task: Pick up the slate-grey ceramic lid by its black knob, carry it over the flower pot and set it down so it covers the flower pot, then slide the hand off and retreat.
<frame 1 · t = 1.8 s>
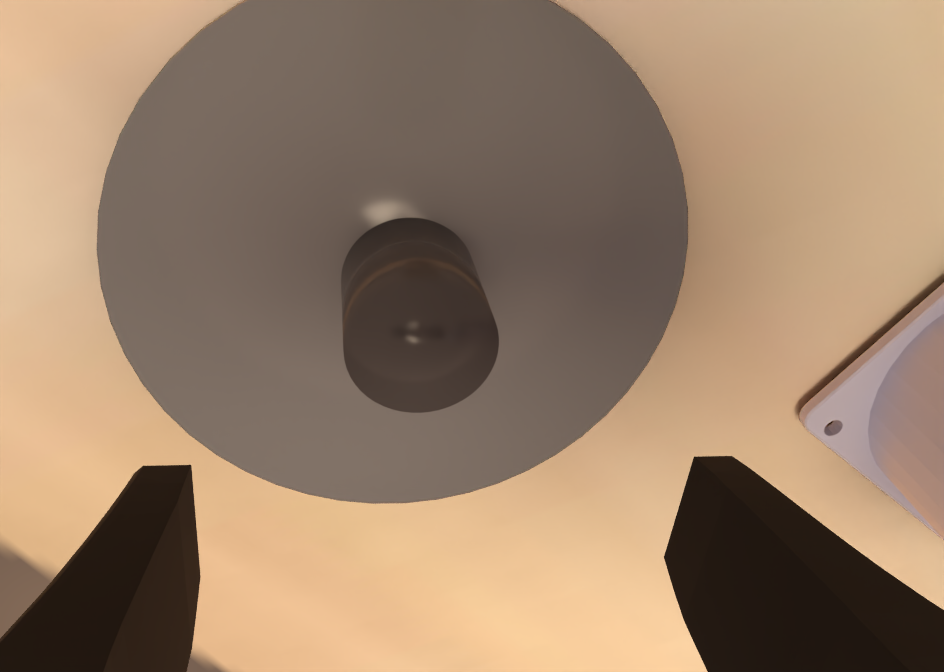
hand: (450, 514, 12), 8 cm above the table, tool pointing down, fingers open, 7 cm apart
lid: (405, 265, 19), on the table
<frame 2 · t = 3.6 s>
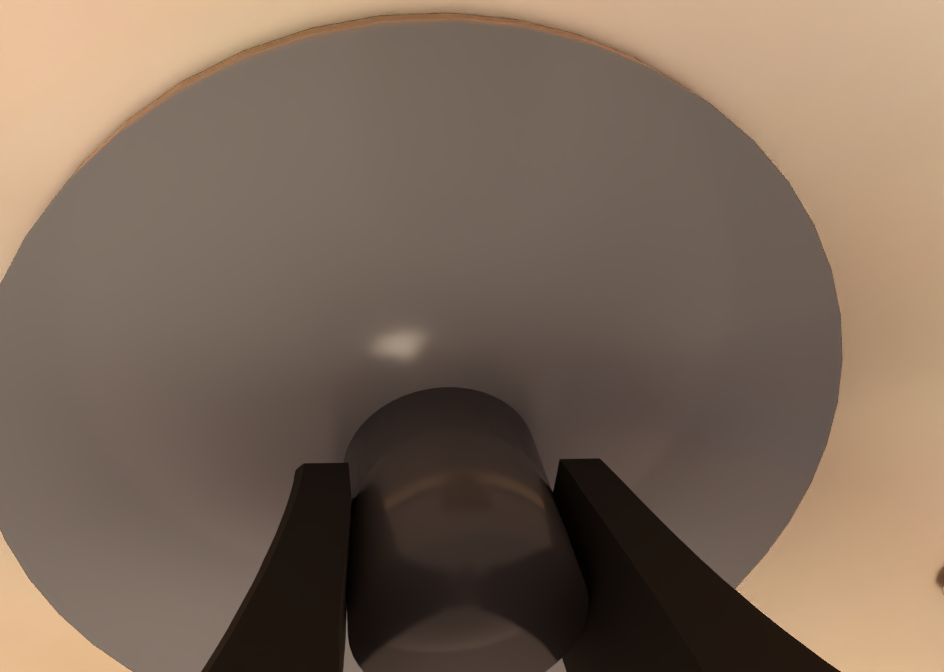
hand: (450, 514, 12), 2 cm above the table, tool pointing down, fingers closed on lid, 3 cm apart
lid: (434, 436, 13), on the table, touching gripper
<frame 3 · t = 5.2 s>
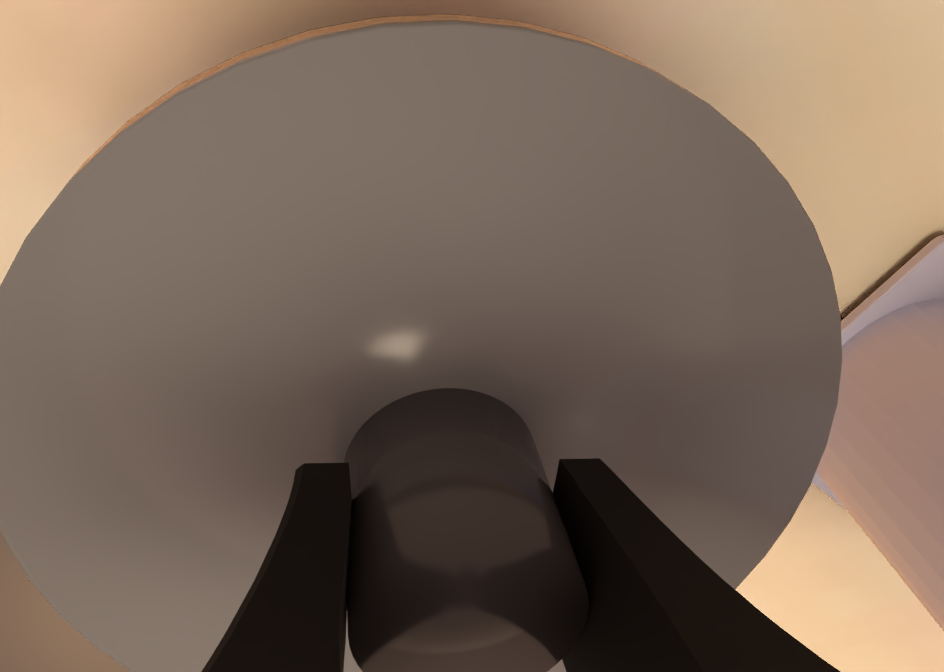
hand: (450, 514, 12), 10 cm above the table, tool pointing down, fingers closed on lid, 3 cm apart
lid: (434, 437, 13), point 9 cm above the table, touching gripper
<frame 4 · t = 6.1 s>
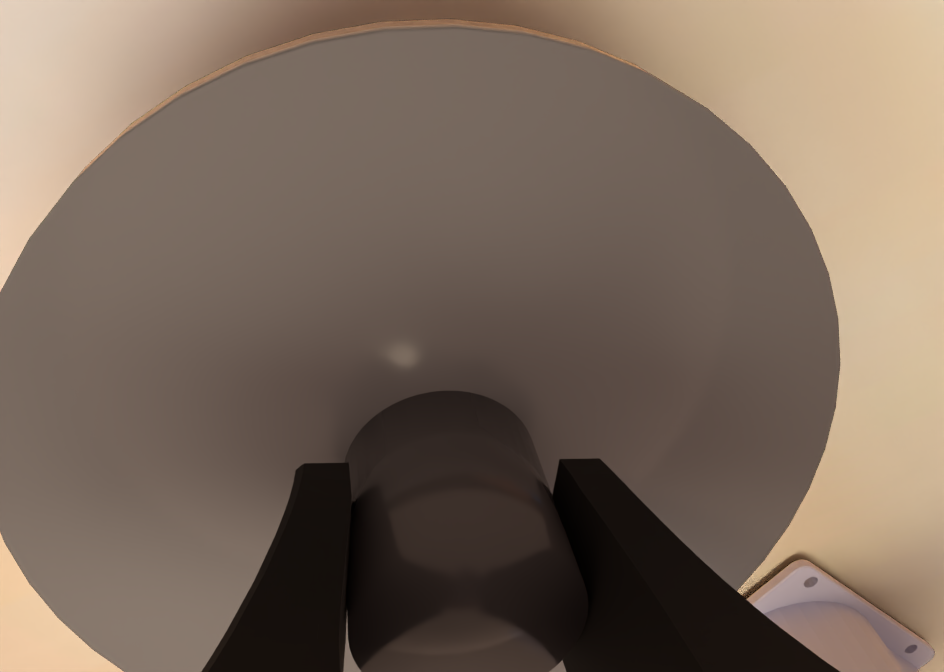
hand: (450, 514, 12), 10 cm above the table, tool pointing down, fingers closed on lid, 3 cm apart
lid: (434, 440, 13), point 9 cm above the table, touching gripper
when the fingers open (10 cm above the table, at t = 6.8 s): lid stays where it is, resting on flower pot.
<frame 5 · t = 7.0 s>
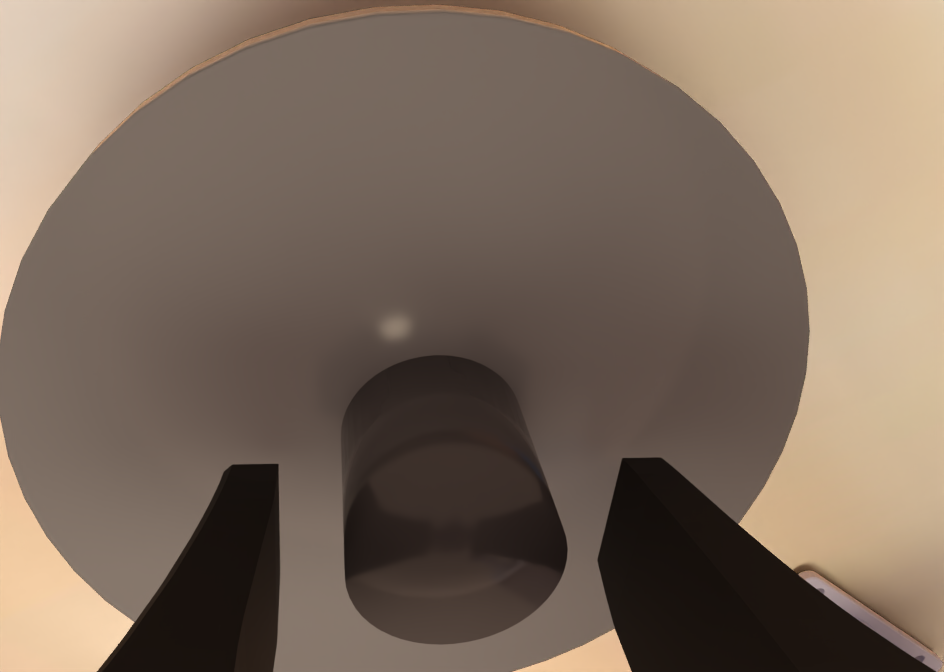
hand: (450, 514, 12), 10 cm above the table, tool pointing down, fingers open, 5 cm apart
lid: (427, 405, 14), point 7 cm above the table, touching flower pot
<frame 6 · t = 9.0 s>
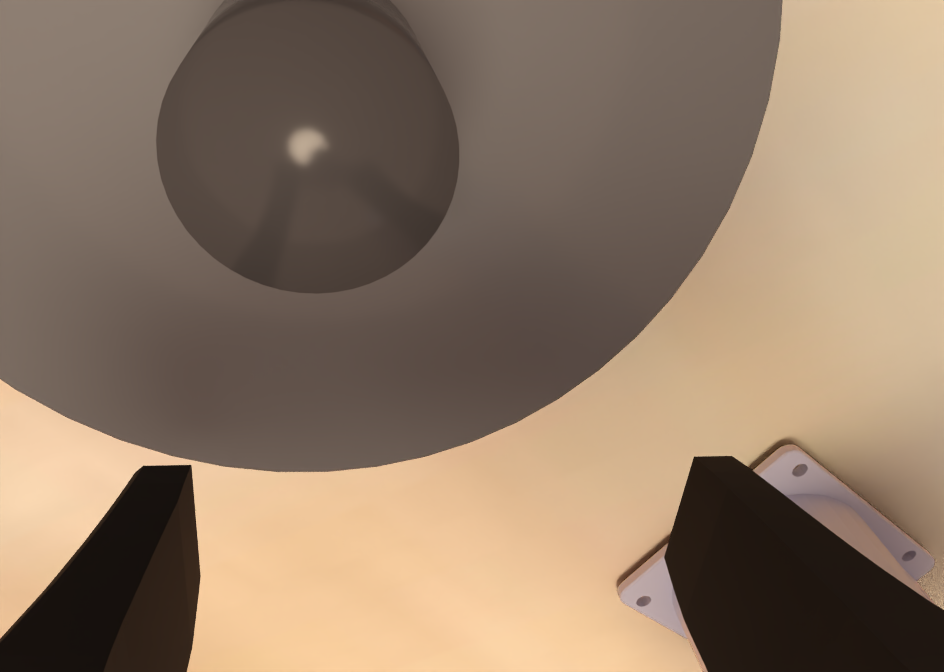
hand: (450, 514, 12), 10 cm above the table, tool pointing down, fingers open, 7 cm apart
lid: (315, 74, 11), point 7 cm above the table, touching flower pot
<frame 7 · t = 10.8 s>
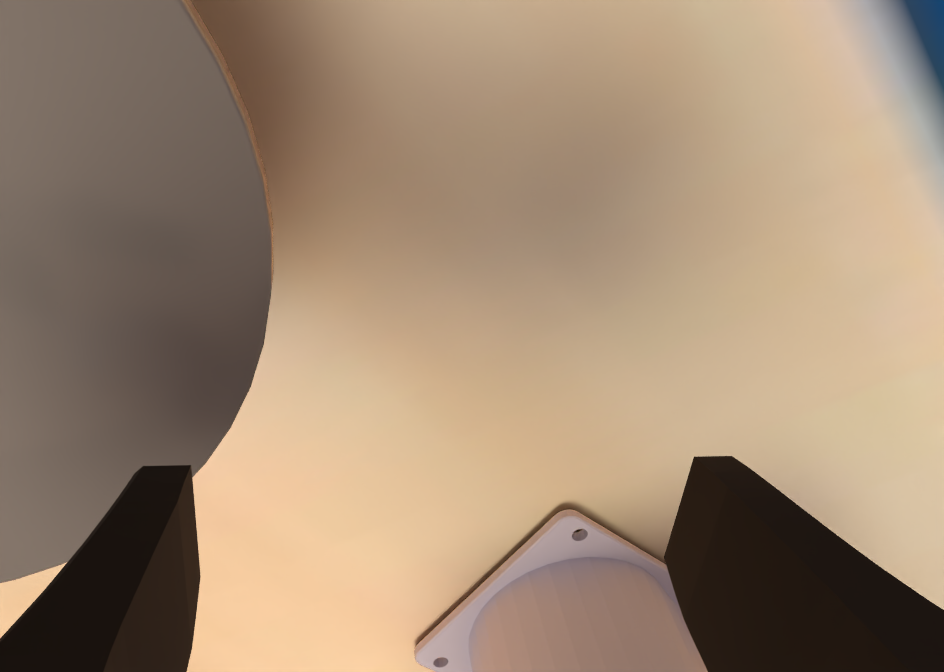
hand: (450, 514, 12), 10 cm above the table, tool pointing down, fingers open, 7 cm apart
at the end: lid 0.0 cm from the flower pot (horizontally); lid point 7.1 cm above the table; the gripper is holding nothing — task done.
